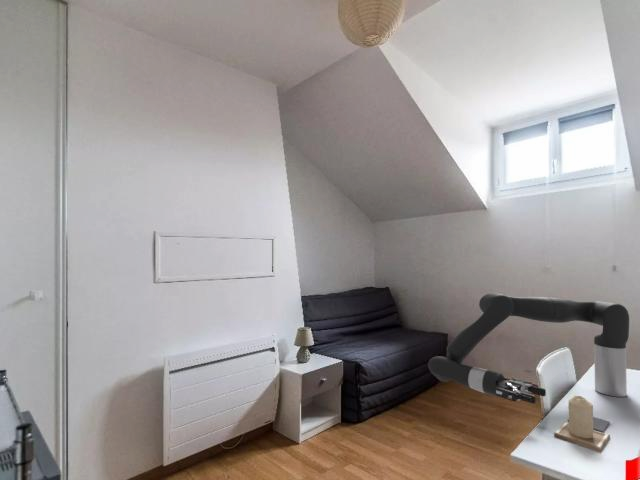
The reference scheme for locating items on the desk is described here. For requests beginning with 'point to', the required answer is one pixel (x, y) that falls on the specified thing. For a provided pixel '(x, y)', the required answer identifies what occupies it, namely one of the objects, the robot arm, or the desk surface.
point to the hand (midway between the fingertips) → (540, 396)
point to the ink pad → (599, 424)
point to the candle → (581, 417)
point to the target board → (593, 443)
